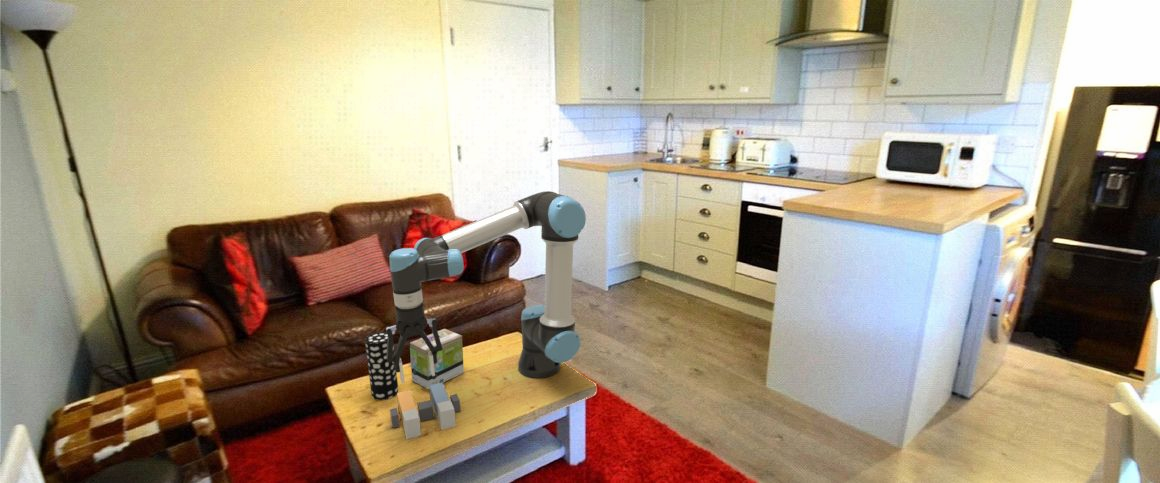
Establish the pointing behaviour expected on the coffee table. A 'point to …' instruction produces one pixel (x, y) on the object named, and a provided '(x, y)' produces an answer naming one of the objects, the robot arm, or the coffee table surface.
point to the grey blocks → (424, 410)
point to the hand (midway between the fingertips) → (417, 377)
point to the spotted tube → (380, 367)
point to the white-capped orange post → (409, 414)
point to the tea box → (446, 359)
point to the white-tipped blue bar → (442, 406)
